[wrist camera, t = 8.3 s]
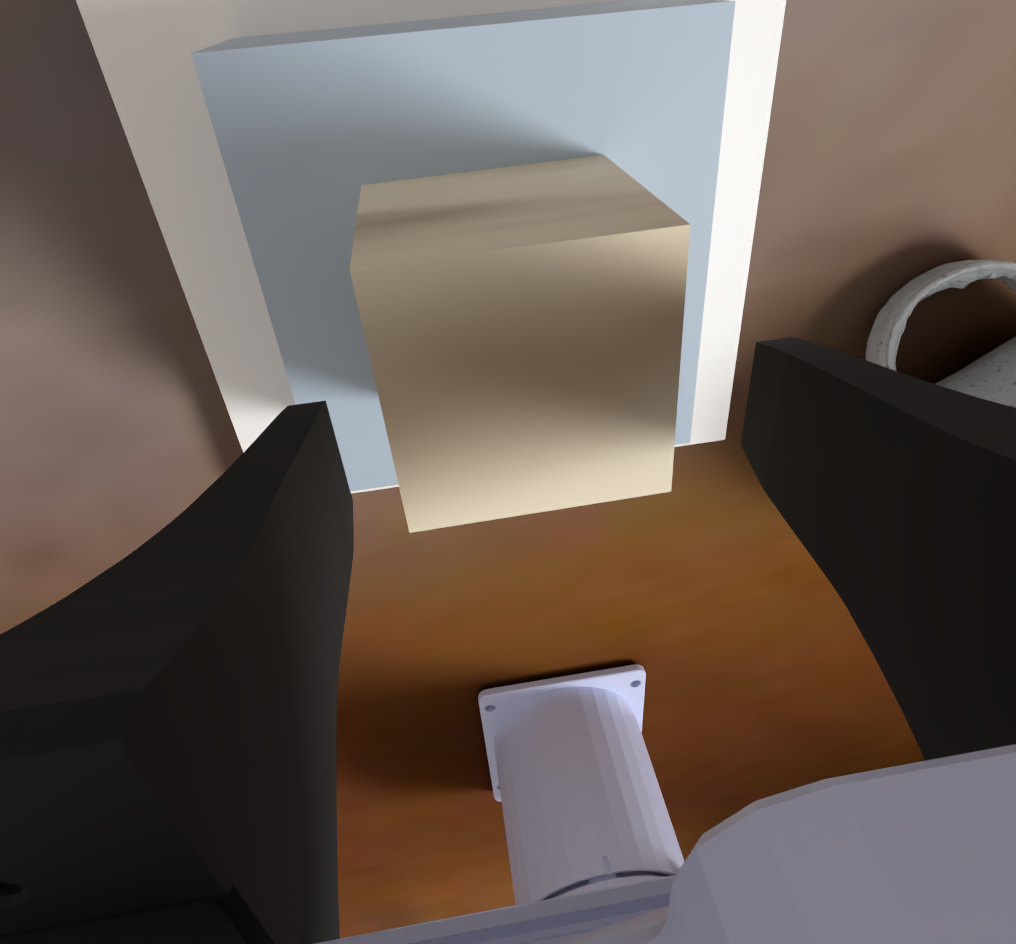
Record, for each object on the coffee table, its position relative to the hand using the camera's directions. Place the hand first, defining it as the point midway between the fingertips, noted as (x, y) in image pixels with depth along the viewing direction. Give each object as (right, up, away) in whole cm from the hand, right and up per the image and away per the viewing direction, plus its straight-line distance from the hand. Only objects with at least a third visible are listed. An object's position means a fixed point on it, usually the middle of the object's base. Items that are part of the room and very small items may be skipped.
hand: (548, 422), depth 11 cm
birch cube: (-1, +3, +4) cm, 5 cm away
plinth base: (-2, +6, +8) cm, 10 cm away
